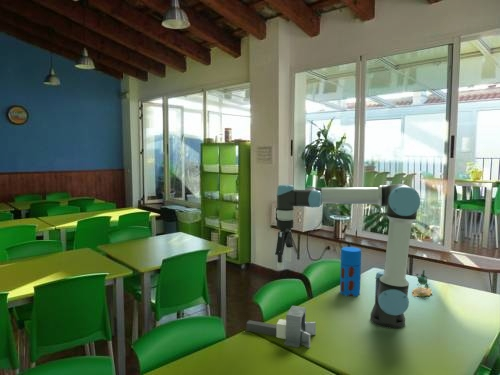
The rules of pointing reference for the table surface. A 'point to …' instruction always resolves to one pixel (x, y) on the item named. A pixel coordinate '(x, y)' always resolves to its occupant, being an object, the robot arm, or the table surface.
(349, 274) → the thermos
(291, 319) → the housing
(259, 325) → the plug
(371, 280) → the table surface
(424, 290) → the frog figurine
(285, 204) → the robot arm
